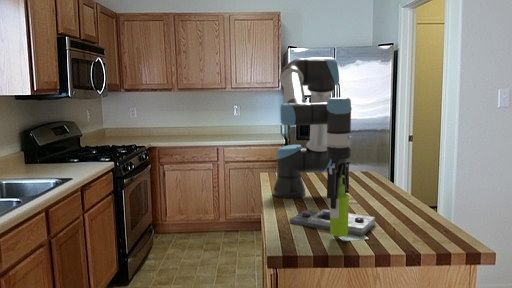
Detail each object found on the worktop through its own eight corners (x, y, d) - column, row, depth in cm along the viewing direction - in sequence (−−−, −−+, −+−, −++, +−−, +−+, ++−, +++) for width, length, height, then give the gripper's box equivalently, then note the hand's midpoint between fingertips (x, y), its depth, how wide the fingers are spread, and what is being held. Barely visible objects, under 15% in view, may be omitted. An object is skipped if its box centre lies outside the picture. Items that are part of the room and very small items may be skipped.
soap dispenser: (325, 230, 137) (325, 173, 134) (344, 229, 138) (345, 172, 135) (329, 237, 132) (330, 177, 129) (350, 236, 132) (351, 176, 129)
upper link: (307, 226, 148) (307, 216, 148) (323, 216, 160) (323, 207, 159) (362, 236, 137) (362, 226, 137) (374, 224, 148) (374, 215, 148)
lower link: (289, 222, 153) (289, 217, 152) (305, 213, 164) (305, 208, 163) (341, 232, 141) (341, 226, 141) (355, 221, 152) (355, 215, 152)
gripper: (338, 151, 121) (338, 225, 124) (359, 142, 136) (358, 208, 140) (315, 149, 125) (315, 221, 128) (338, 141, 140) (338, 205, 144)
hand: (338, 214), depth 134 cm, fingers closed on soap dispenser, 6 cm apart
